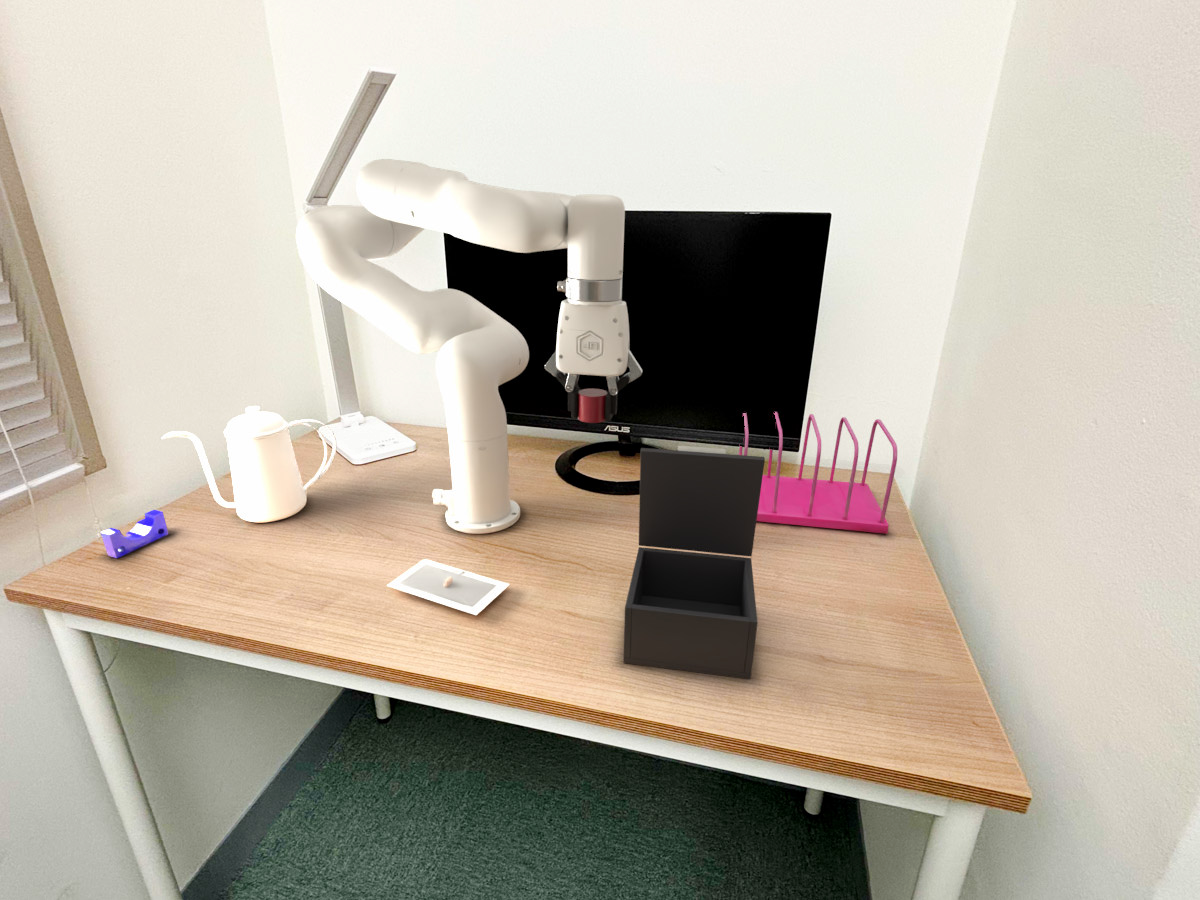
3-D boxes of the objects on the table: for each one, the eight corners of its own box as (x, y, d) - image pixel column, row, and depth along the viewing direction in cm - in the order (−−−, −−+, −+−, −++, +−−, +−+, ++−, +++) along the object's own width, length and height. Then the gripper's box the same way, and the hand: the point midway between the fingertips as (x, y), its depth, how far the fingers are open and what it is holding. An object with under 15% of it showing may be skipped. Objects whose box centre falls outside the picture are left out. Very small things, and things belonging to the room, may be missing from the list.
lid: (764, 460, 72) (762, 437, 77) (640, 450, 74) (645, 429, 79) (751, 556, 79) (750, 530, 84) (638, 545, 81) (643, 520, 86)
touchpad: (476, 622, 79) (475, 608, 78) (387, 592, 85) (385, 578, 84) (510, 590, 86) (509, 577, 85) (425, 565, 92) (423, 552, 91)
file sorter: (887, 535, 101) (905, 446, 96) (732, 520, 106) (741, 434, 100) (866, 491, 117) (880, 413, 112) (732, 480, 122) (739, 403, 116)
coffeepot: (180, 521, 103) (151, 414, 96) (332, 481, 119) (317, 387, 112) (193, 546, 96) (163, 433, 89) (353, 501, 111) (338, 401, 104)
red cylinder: (574, 421, 90) (575, 395, 89) (580, 412, 94) (581, 387, 93) (604, 424, 89) (605, 397, 88) (609, 414, 93) (610, 389, 92)
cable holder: (153, 530, 100) (147, 508, 99) (168, 534, 99) (162, 511, 98) (101, 553, 94) (93, 530, 92) (116, 558, 92) (109, 534, 91)
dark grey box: (750, 679, 70) (757, 622, 67) (623, 663, 72) (624, 607, 69) (745, 608, 82) (751, 557, 80) (636, 596, 85) (638, 546, 82)
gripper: (528, 292, 83) (530, 420, 90) (653, 297, 80) (646, 430, 87) (542, 285, 90) (543, 405, 96) (658, 290, 87) (651, 413, 94)
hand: (592, 415), depth 92 cm, fingers closed on red cylinder, 4 cm apart
